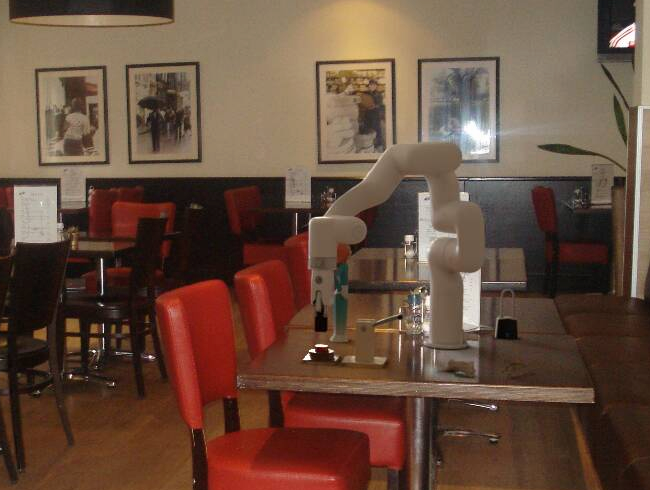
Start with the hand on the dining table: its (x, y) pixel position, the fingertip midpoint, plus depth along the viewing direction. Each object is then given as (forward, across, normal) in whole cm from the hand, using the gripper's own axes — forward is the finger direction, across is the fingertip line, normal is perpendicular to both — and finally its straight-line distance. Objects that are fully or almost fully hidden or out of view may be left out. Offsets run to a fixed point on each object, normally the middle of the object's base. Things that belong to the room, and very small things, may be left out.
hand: (321, 331), depth 280 cm
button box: (+8, 0, 0) cm, 8 cm away
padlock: (+8, +51, -48) cm, 71 cm away
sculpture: (+8, +33, 0) cm, 34 cm away
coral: (+8, -7, -36) cm, 37 cm away
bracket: (+8, 0, -12) cm, 14 cm away
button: (+6, 0, 0) cm, 6 cm away
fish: (+8, -5, -51) cm, 52 cm away
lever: (-2, 0, -16) cm, 17 cm away
